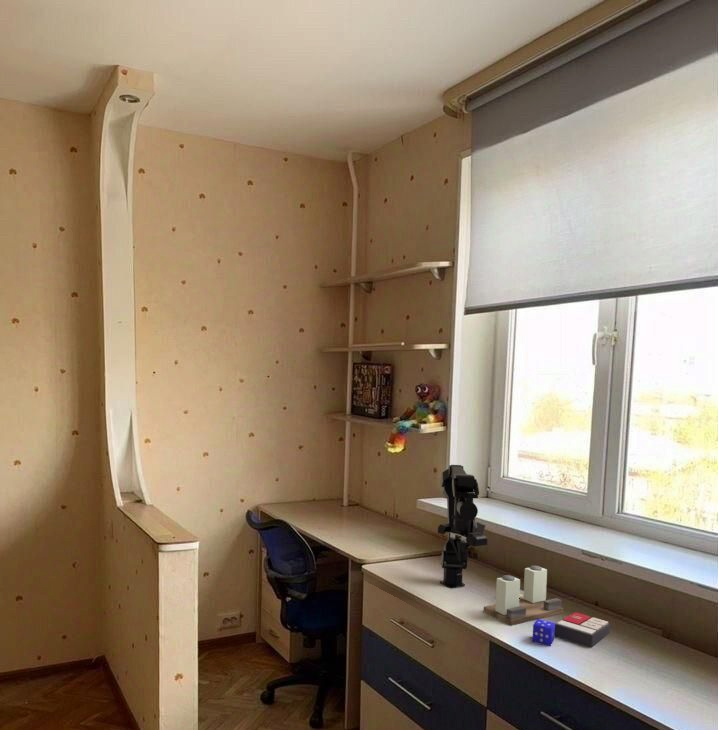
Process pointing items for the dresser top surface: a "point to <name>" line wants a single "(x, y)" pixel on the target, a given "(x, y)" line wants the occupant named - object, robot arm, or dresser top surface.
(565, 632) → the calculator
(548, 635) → the die
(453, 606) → the dresser top surface
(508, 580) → the button
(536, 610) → the wooden base plate
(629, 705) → the dresser top surface
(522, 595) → the card
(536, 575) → the button
